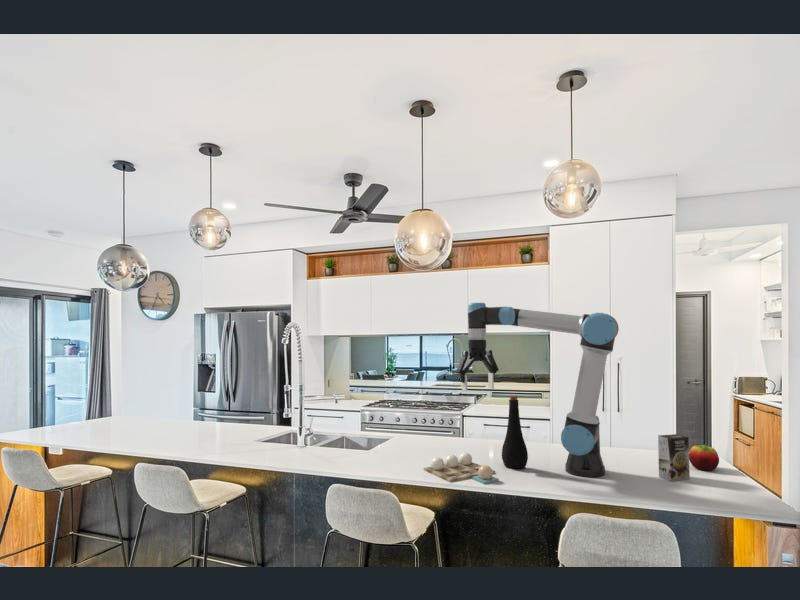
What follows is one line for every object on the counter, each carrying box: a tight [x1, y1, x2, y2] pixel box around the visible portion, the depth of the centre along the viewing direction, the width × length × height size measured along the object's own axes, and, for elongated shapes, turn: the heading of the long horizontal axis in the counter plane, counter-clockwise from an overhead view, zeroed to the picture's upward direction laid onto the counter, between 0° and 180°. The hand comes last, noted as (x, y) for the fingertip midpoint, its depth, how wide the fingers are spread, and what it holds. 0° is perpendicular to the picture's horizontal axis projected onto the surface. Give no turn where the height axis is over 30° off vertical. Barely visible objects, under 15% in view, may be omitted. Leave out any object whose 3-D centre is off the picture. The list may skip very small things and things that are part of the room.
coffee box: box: [657, 433, 691, 482], centre depth 192 cm, size 9×6×16 cm
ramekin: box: [471, 475, 500, 485], centre depth 187 cm, size 7×7×2 cm
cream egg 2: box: [444, 454, 459, 468], centre depth 202 cm, size 6×6×6 cm
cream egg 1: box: [430, 456, 445, 471], centre depth 199 cm, size 6×6×6 cm
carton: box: [423, 461, 496, 483], centre depth 198 cm, size 22×18×2 cm
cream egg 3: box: [458, 452, 473, 466], centre depth 206 cm, size 6×6×6 cm
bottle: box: [501, 395, 529, 470], centre depth 205 cm, size 11×11×30 cm
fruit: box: [689, 444, 720, 472], centre depth 204 cm, size 11×11×10 cm
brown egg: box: [478, 464, 494, 480], centre depth 187 cm, size 6×6×6 cm
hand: (478, 389), depth 209 cm, fingers open, 13 cm apart
